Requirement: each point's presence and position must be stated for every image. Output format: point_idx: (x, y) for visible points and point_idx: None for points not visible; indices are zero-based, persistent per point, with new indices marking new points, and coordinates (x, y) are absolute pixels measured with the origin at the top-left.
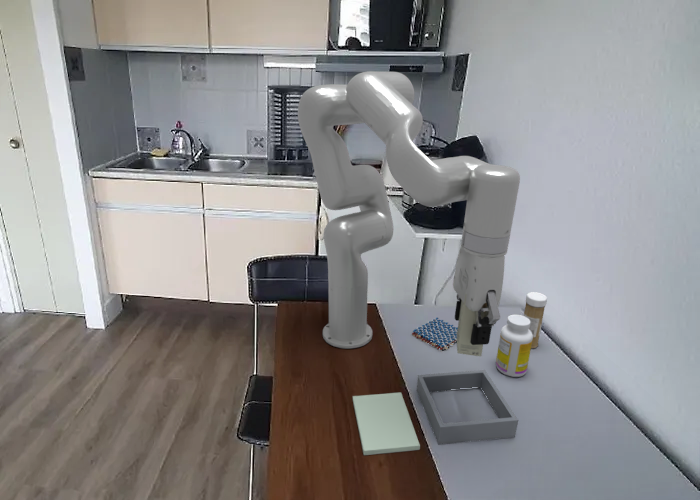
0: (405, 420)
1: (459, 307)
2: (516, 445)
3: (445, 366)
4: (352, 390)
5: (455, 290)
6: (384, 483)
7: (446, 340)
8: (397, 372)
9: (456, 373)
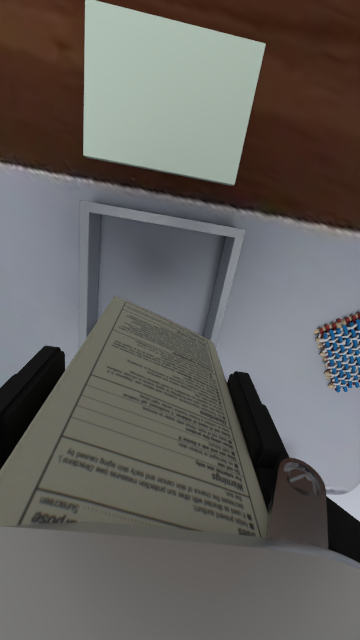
0: (153, 155)
1: (245, 429)
2: (74, 326)
3: (275, 315)
4: (294, 65)
5: (291, 565)
6: (12, 32)
7: (335, 350)
8: (302, 212)
9: (220, 313)
